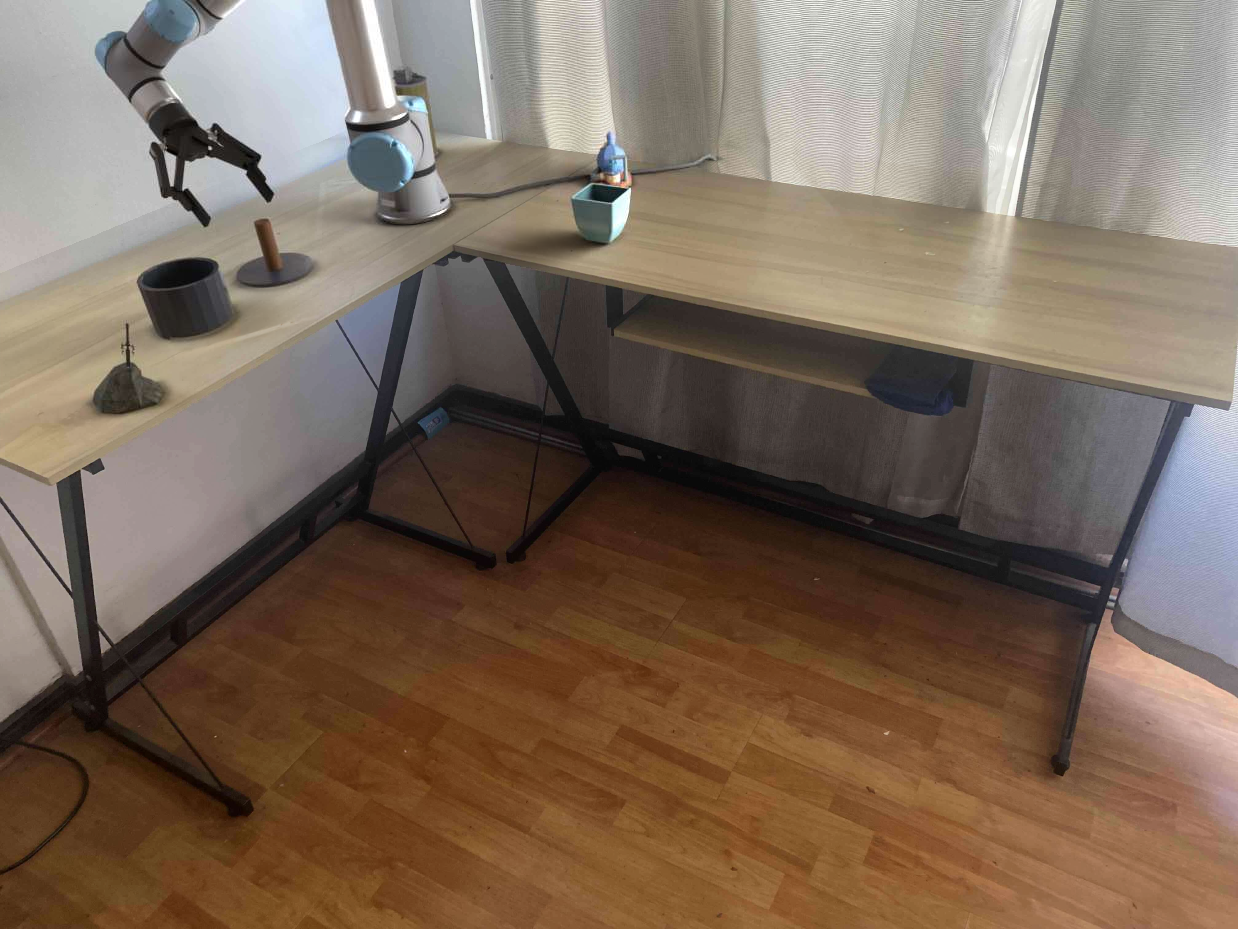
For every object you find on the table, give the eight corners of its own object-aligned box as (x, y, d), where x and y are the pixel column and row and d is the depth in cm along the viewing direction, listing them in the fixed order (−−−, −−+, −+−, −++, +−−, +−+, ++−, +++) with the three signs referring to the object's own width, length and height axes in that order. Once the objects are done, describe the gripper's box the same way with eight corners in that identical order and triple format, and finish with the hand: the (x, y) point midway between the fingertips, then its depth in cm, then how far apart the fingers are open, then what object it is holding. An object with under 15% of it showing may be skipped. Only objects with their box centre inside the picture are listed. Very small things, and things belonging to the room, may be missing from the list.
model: (589, 172, 208) (587, 131, 203) (630, 170, 208) (629, 128, 203) (590, 191, 199) (587, 148, 193) (632, 189, 199) (631, 146, 193)
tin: (224, 298, 164) (209, 250, 158) (243, 325, 155) (227, 276, 150) (149, 318, 159) (130, 270, 153) (163, 348, 150) (144, 297, 144)
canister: (429, 162, 219) (414, 73, 207) (388, 161, 221) (371, 73, 209) (445, 147, 227) (431, 61, 215) (405, 147, 229) (390, 61, 217)
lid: (302, 252, 179) (288, 201, 173) (324, 276, 169) (310, 223, 163) (230, 270, 173) (213, 219, 167) (249, 297, 164) (232, 243, 158)
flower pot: (633, 232, 180) (631, 187, 174) (614, 249, 173) (612, 203, 168) (593, 226, 183) (590, 182, 177) (573, 243, 176) (569, 198, 171)
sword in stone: (85, 418, 133) (51, 345, 126) (100, 390, 140) (68, 319, 133) (157, 409, 135) (127, 336, 127) (168, 381, 141) (141, 311, 134)
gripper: (220, 109, 177) (290, 199, 178) (98, 146, 161) (175, 245, 162) (229, 84, 171) (301, 177, 172) (102, 119, 155) (183, 222, 156)
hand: (240, 210), depth 167 cm, fingers open, 13 cm apart
